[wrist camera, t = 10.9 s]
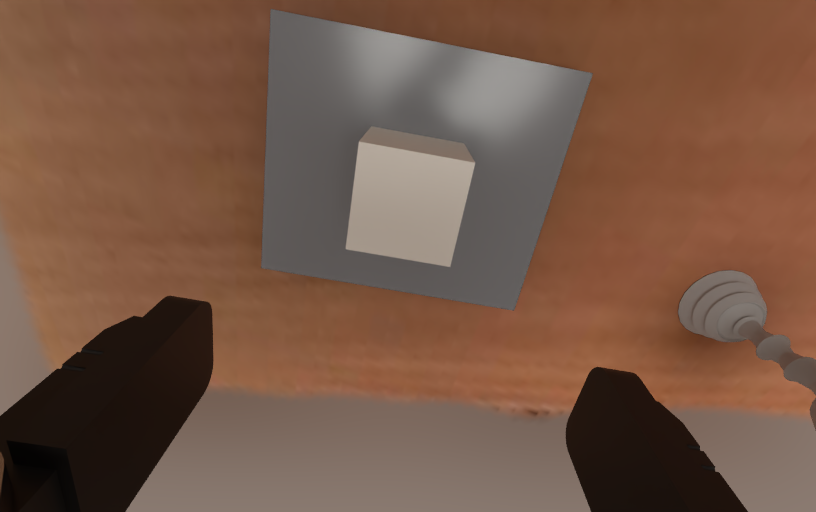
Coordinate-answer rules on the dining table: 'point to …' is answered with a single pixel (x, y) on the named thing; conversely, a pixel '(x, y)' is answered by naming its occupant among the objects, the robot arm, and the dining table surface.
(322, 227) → the slate board
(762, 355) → the chalice
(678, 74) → the dining table surface
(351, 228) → the cube
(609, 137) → the dining table surface
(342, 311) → the dining table surface
